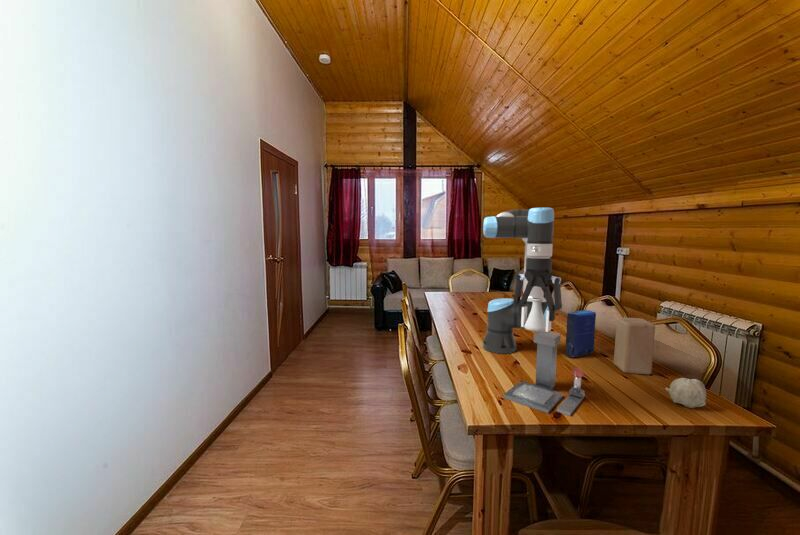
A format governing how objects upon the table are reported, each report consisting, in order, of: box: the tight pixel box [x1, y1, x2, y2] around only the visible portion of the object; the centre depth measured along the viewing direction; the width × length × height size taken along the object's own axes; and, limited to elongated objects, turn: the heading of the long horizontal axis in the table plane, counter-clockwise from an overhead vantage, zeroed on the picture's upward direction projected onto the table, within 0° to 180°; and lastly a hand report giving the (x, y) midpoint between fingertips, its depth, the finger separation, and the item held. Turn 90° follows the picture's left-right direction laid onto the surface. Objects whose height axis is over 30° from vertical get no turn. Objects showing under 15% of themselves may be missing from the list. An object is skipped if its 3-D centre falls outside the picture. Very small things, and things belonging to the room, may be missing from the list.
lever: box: [568, 367, 585, 397], centre depth 110 cm, size 4×4×9 cm
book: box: [564, 309, 597, 358], centre depth 148 cm, size 14×5×20 cm, turn 115°
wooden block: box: [613, 316, 656, 375], centre depth 133 cm, size 10×10×20 cm
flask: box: [524, 298, 546, 332], centre depth 108 cm, size 7×7×10 cm
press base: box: [503, 331, 586, 417], centre depth 110 cm, size 19×20×19 cm
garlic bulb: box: [665, 377, 707, 409], centre depth 105 cm, size 9×8×10 cm
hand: (535, 328), depth 108 cm, fingers closed on flask, 7 cm apart
